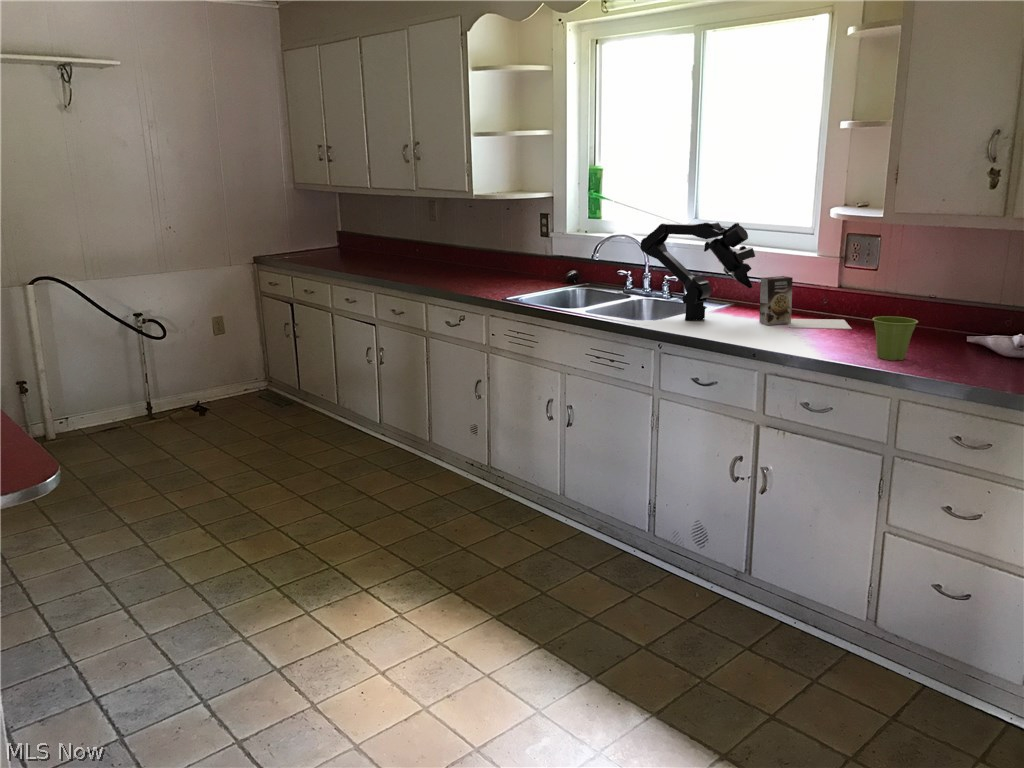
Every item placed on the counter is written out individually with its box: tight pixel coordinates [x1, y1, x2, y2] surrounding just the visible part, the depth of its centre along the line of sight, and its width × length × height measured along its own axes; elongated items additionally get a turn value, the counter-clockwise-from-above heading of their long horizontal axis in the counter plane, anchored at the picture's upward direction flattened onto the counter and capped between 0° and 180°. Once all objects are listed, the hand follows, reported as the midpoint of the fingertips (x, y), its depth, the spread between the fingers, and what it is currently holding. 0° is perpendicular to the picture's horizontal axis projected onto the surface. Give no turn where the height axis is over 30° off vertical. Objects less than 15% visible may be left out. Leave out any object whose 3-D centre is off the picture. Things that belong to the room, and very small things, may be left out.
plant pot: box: [872, 315, 919, 361], centre depth 232 cm, size 12×12×11 cm
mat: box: [786, 318, 853, 330], centre depth 284 cm, size 20×16×1 cm
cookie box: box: [759, 275, 793, 326], centre depth 285 cm, size 9×6×16 cm
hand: (751, 287), depth 288 cm, fingers closed
